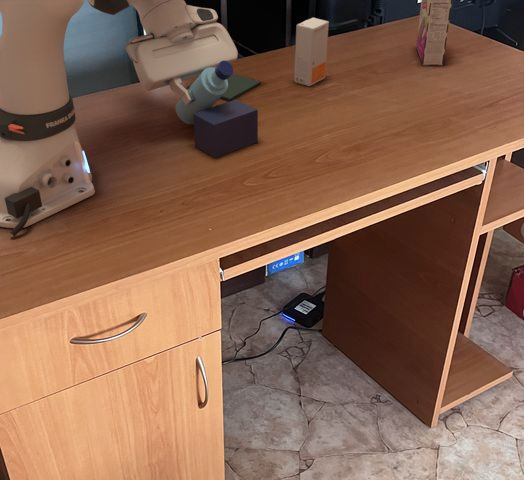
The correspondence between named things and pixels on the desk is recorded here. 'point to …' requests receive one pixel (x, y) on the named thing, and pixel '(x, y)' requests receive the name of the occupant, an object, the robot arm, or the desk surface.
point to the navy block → (225, 128)
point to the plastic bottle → (205, 91)
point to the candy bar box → (433, 31)
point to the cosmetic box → (311, 51)
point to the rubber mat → (238, 86)
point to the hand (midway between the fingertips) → (205, 97)
